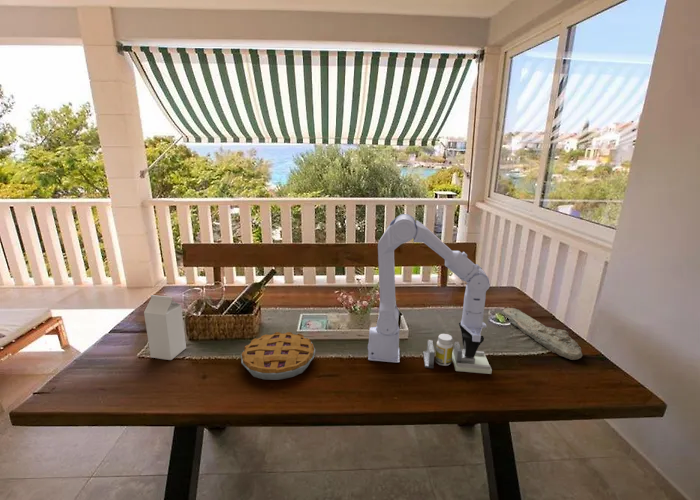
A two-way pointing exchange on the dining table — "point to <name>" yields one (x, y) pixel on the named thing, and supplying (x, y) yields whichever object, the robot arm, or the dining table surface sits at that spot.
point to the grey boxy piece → (462, 354)
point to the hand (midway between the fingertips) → (468, 351)
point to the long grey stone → (545, 334)
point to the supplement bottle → (444, 350)
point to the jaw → (429, 355)
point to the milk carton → (164, 327)
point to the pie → (278, 355)
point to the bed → (478, 367)
